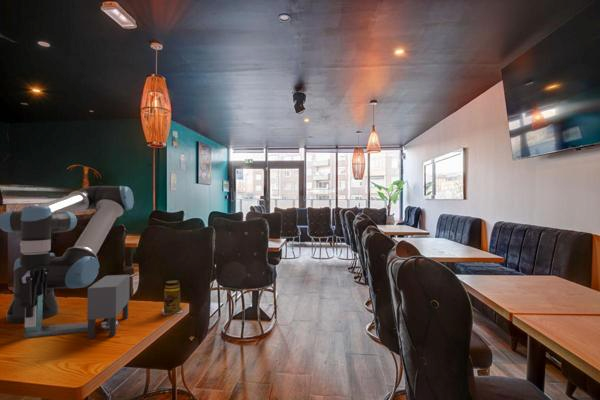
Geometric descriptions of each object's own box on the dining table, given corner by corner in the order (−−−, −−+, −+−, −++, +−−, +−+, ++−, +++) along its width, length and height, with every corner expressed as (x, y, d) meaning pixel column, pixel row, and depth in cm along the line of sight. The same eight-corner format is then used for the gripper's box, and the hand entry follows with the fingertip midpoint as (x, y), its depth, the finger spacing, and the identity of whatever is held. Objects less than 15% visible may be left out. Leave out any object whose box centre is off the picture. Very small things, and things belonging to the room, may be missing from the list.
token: (103, 325, 108) (103, 320, 108) (119, 324, 110) (119, 319, 110) (99, 331, 103) (99, 325, 103) (115, 329, 105) (115, 324, 105)
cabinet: (104, 318, 114) (105, 275, 114) (128, 316, 116) (129, 274, 117) (86, 339, 97) (87, 288, 97) (115, 336, 99) (116, 286, 99)
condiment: (162, 315, 118) (163, 284, 118) (161, 308, 126) (162, 279, 126) (182, 312, 121) (183, 282, 122) (180, 306, 129) (181, 278, 129)
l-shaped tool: (23, 337, 97) (24, 298, 98) (32, 331, 102) (33, 294, 102) (89, 331, 102) (90, 294, 103) (94, 325, 107) (95, 290, 108)
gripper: (35, 249, 107) (33, 317, 107) (6, 257, 92) (3, 335, 91) (60, 249, 109) (58, 315, 109) (36, 256, 94) (34, 333, 93)
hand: (33, 324), depth 100 cm, fingers closed on l-shaped tool, 3 cm apart
